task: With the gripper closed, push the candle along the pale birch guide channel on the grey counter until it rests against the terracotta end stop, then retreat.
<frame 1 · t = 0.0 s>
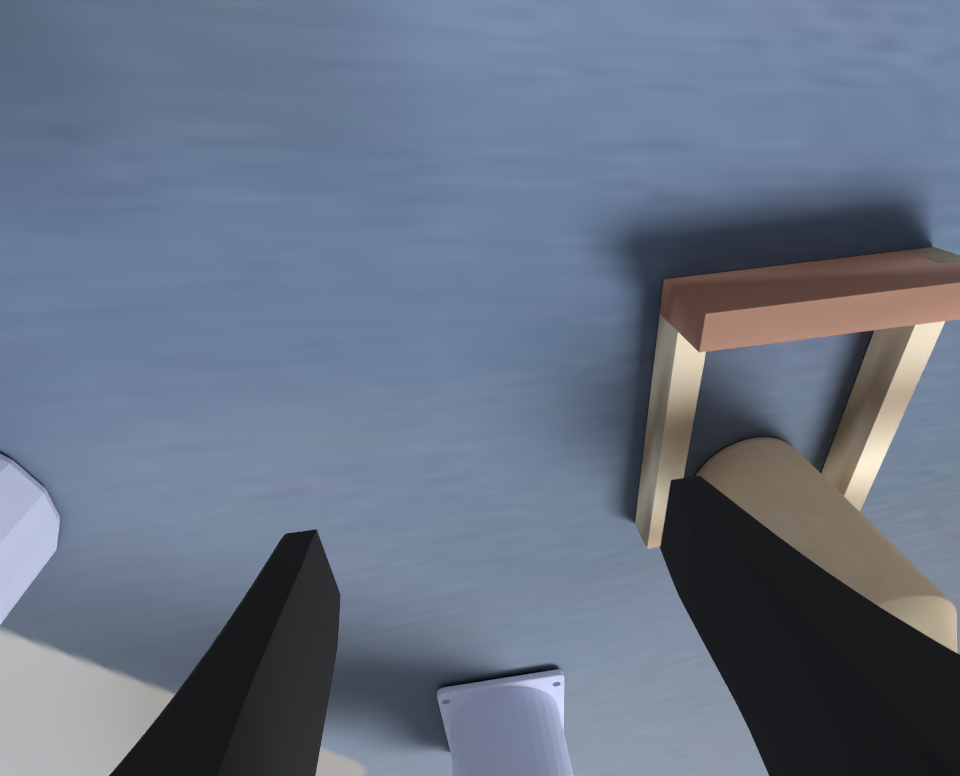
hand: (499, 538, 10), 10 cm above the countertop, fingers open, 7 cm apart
candle: (740, 477, 25), on the countertop
channel: (763, 405, 23), on the countertop
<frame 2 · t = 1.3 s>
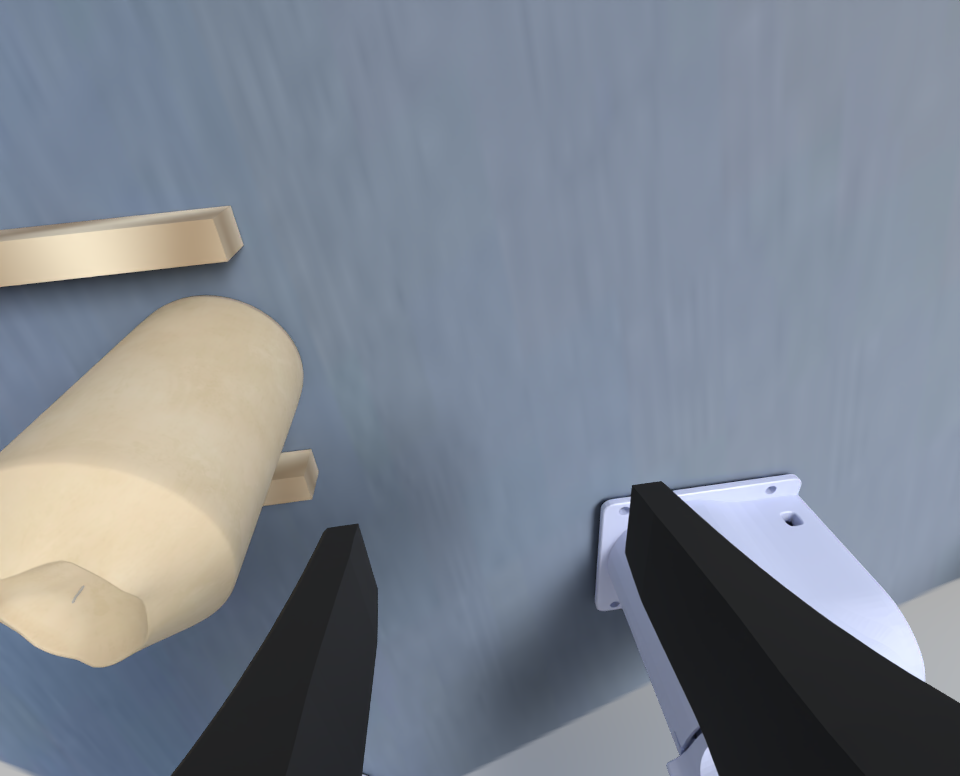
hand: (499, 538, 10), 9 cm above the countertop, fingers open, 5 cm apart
candle: (226, 363, 18), on the countertop
channel: (93, 382, 18), on the countertop
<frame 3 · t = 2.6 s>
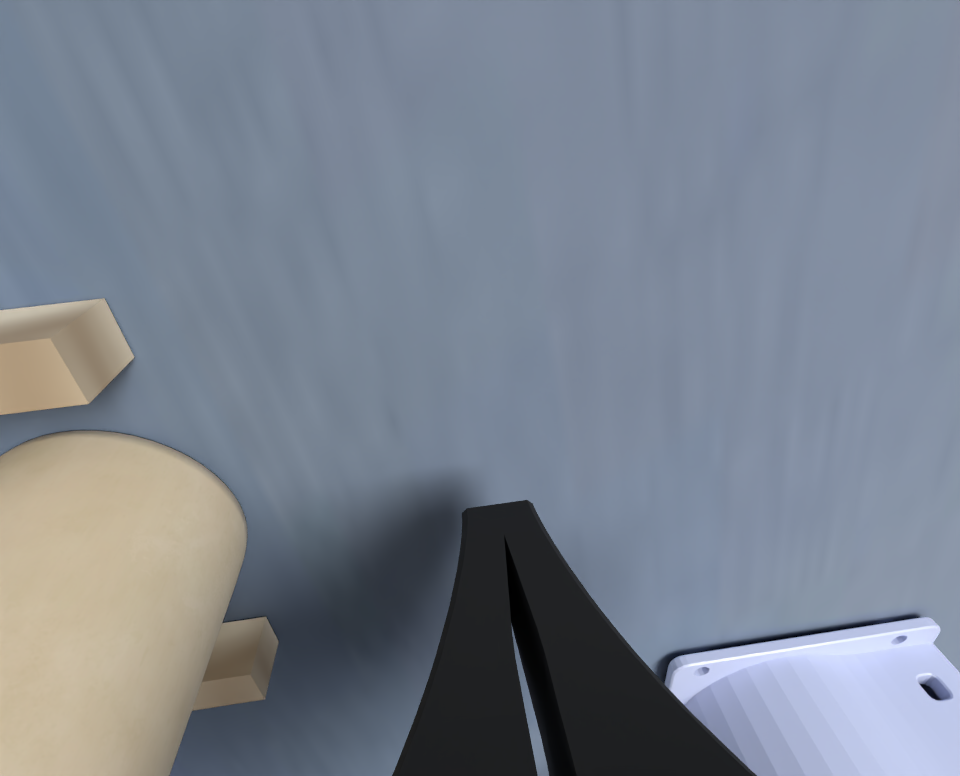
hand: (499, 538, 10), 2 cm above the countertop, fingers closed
candle: (129, 515, 12), on the countertop
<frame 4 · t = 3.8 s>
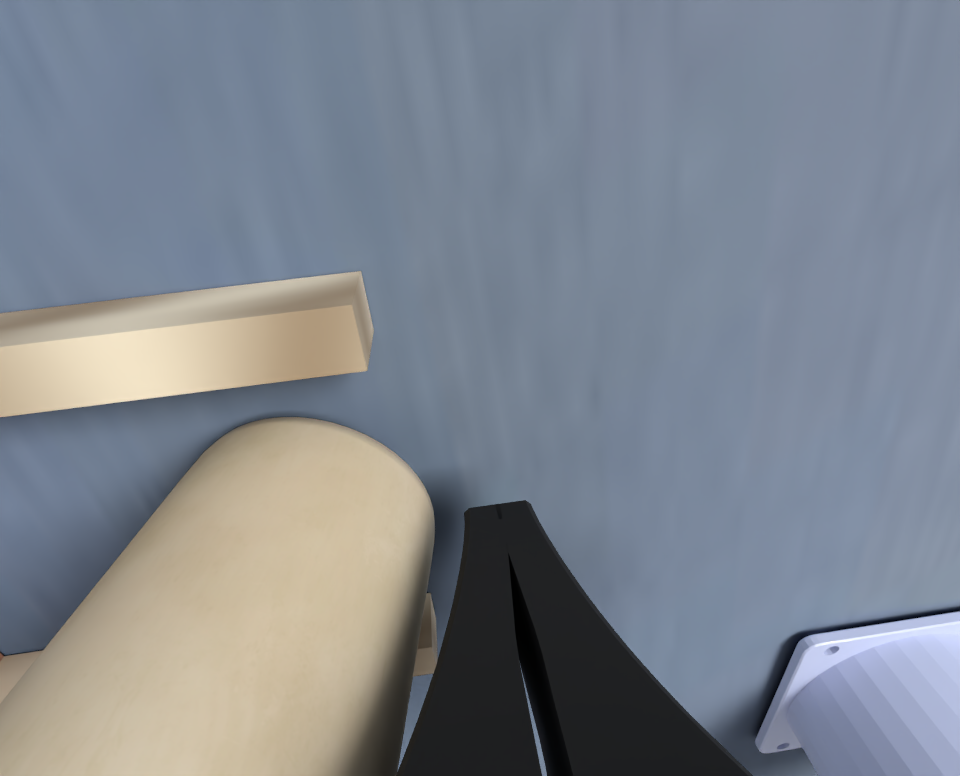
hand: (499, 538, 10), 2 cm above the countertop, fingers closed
candle: (321, 504, 12), on the countertop, touching gripper
channel: (128, 523, 12), on the countertop
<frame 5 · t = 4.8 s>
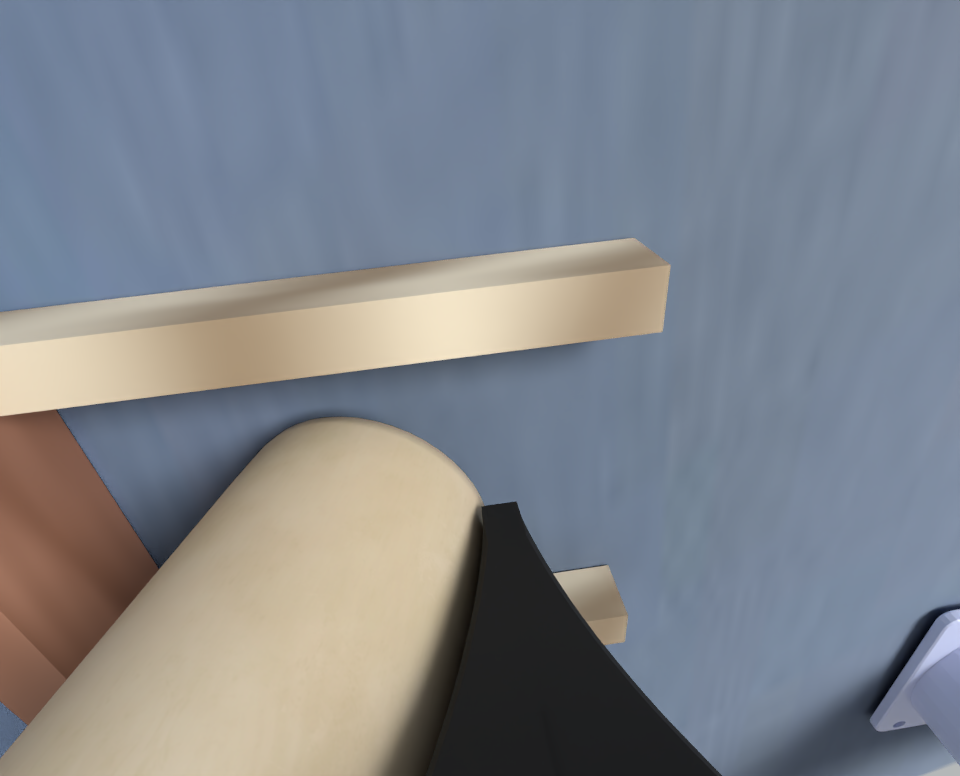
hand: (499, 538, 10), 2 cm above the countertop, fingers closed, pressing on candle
candle: (374, 505, 12), point 1 cm above the countertop, touching gripper
channel: (349, 492, 12), on the countertop
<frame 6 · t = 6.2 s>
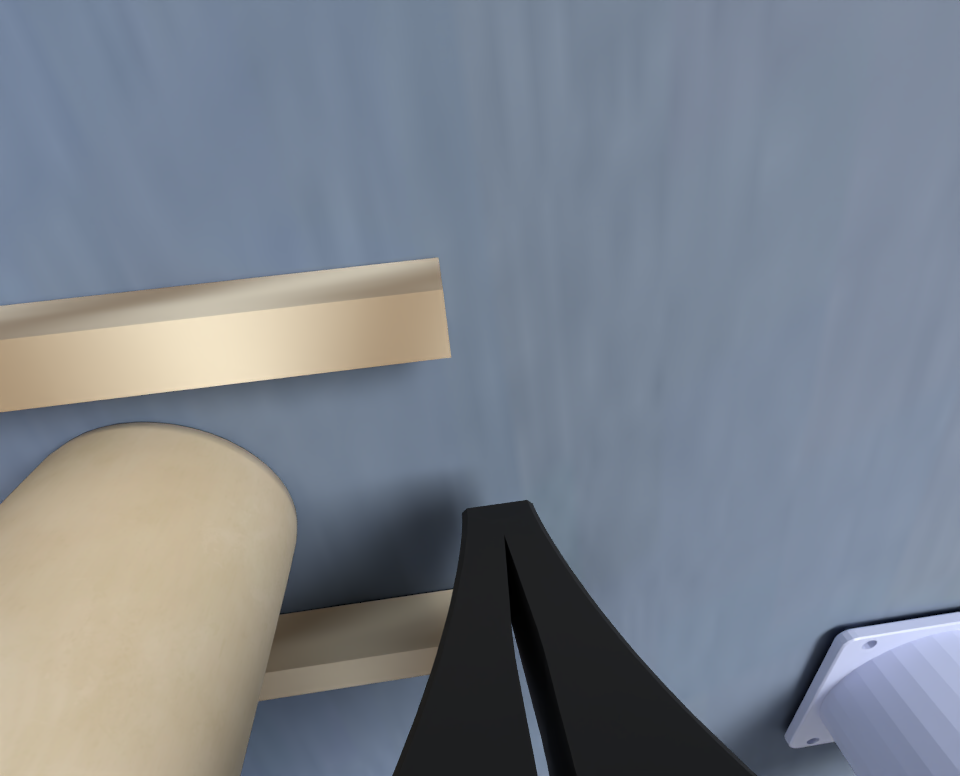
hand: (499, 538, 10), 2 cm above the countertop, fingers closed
candle: (179, 508, 12), on the countertop
channel: (184, 514, 12), on the countertop
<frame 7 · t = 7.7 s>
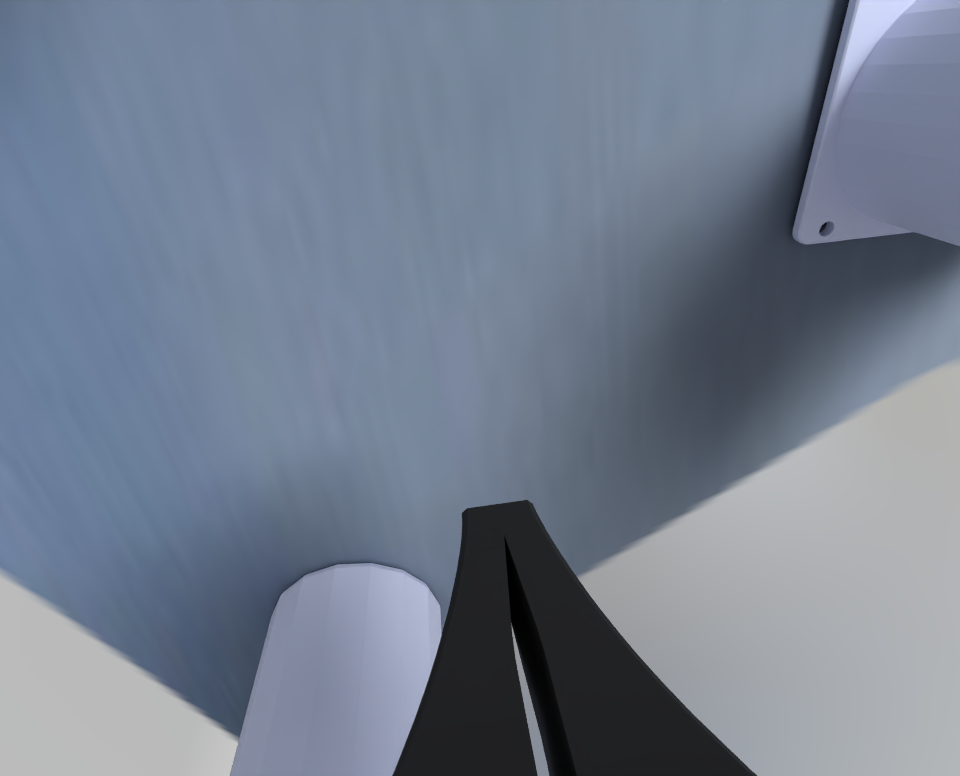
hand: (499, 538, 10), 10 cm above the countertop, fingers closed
soap bottle: (361, 614, 27), on the countertop
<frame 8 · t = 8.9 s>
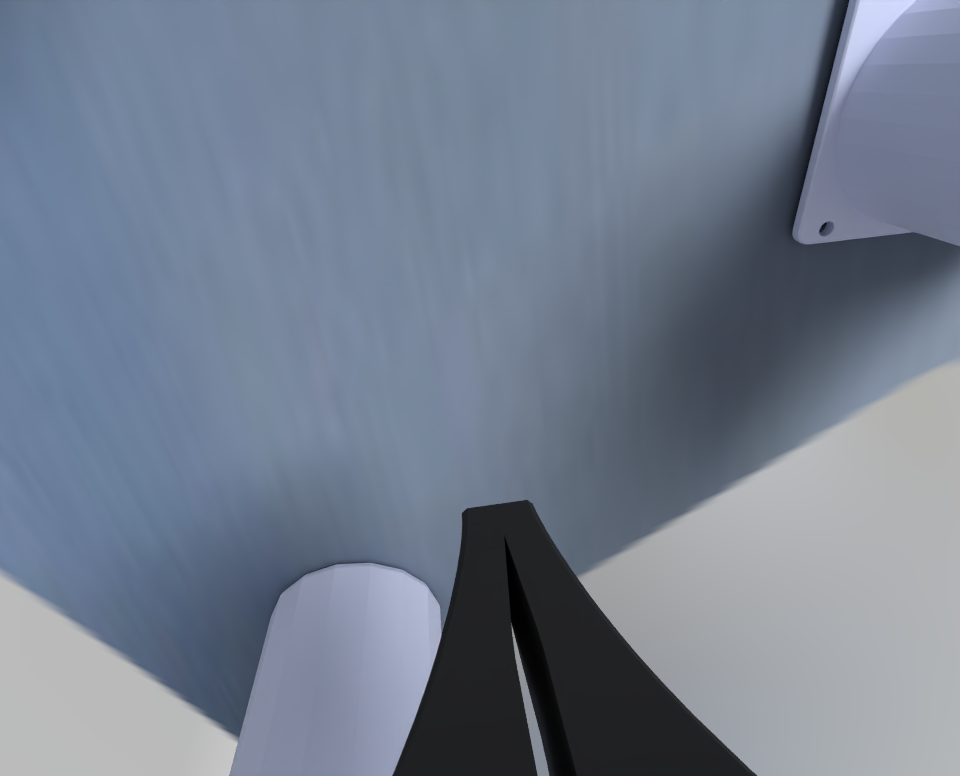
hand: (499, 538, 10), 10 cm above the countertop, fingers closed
soap bottle: (361, 614, 27), on the countertop
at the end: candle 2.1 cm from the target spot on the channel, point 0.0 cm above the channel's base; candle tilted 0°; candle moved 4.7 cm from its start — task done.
